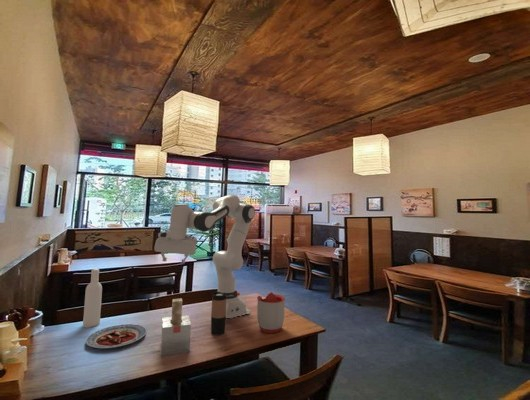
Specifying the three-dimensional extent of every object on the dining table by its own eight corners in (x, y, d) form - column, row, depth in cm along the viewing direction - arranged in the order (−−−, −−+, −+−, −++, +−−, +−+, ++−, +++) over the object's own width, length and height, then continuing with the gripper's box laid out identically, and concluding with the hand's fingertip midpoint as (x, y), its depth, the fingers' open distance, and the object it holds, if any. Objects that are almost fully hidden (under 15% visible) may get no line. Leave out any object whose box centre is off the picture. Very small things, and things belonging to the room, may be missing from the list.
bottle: (80, 328, 138) (85, 271, 140) (84, 323, 145) (88, 268, 148) (98, 326, 141) (102, 270, 144) (101, 321, 148) (104, 267, 151)
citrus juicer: (271, 320, 156) (272, 286, 157) (290, 331, 142) (291, 293, 143) (249, 326, 147) (250, 290, 148) (267, 338, 133) (268, 298, 134)
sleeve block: (187, 340, 128) (188, 315, 129) (189, 352, 116) (191, 324, 117) (161, 343, 124) (162, 317, 125) (160, 356, 112) (162, 328, 113)
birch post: (179, 341, 123) (181, 298, 125) (180, 345, 119) (182, 301, 121) (169, 342, 122) (172, 299, 123) (170, 347, 118) (172, 301, 119)
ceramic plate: (113, 357, 111) (113, 350, 111) (72, 346, 120) (73, 339, 120) (157, 333, 135) (157, 327, 135) (120, 325, 144) (121, 319, 144)
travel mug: (212, 336, 133) (214, 296, 134) (208, 330, 139) (210, 292, 141) (227, 334, 136) (228, 295, 138) (222, 328, 143) (223, 291, 144)
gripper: (199, 236, 136) (195, 263, 135) (159, 232, 136) (156, 259, 134) (196, 237, 130) (192, 265, 129) (155, 233, 129) (151, 261, 128)
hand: (173, 262), depth 132 cm, fingers open, 8 cm apart
